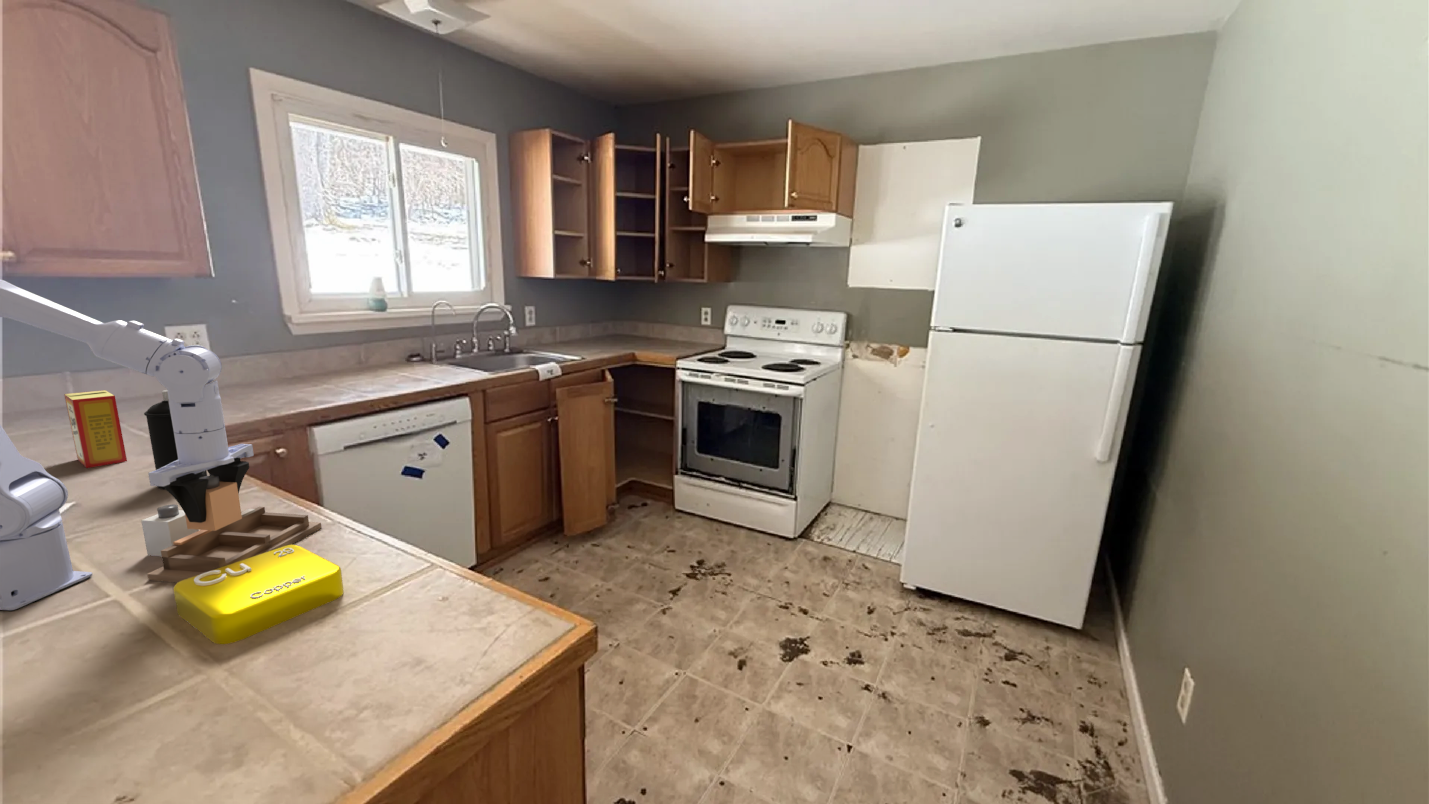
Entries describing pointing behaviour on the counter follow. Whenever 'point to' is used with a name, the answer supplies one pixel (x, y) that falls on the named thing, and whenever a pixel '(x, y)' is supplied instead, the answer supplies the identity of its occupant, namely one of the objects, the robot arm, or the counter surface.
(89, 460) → the baking soda box
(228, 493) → the orange plug
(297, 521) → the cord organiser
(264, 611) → the element tile
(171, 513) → the grey plug
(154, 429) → the aerosol can
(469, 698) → the counter surface
